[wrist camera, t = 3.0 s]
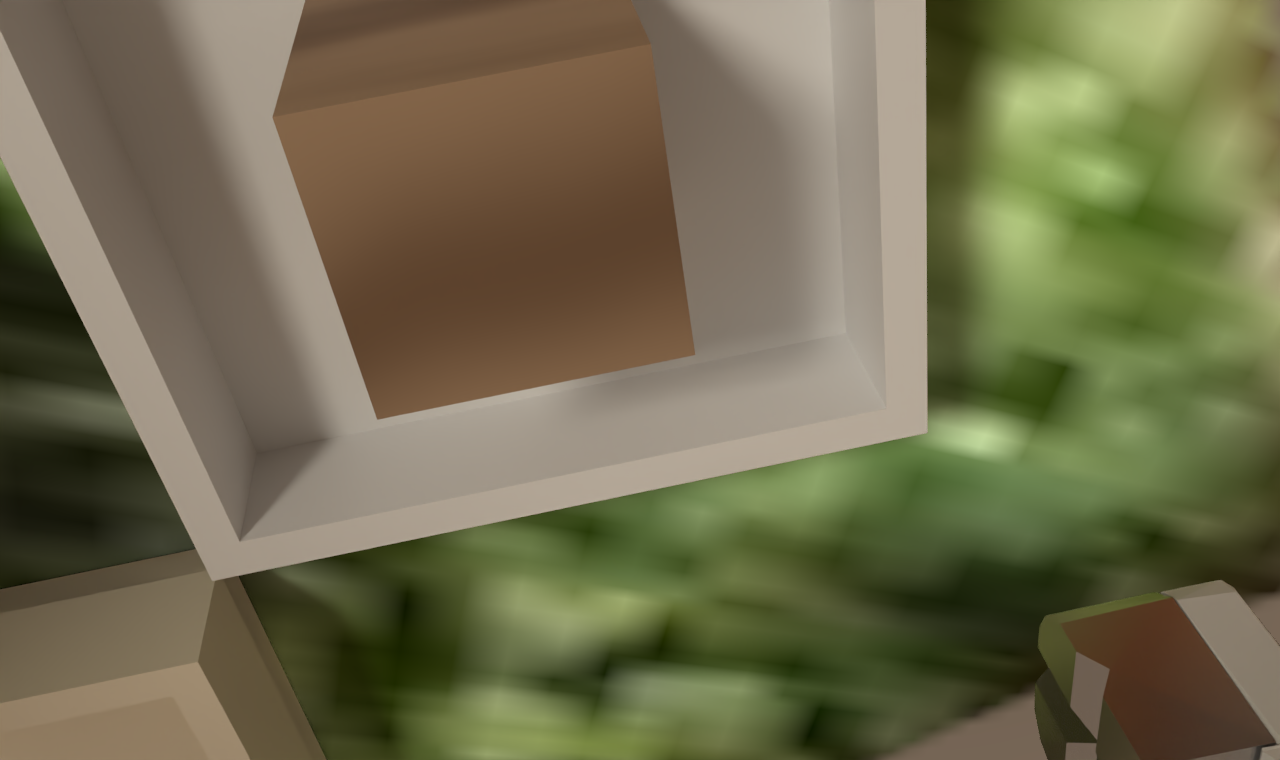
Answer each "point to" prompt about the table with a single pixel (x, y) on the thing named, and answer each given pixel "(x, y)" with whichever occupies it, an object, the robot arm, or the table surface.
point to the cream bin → (143, 669)
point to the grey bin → (503, 424)
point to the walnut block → (485, 192)
